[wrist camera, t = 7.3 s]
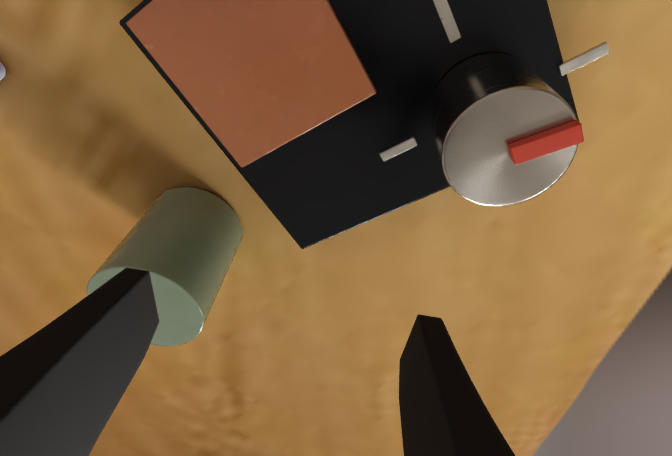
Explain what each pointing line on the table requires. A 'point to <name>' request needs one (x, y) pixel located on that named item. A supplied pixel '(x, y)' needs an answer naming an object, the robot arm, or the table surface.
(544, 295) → the table surface
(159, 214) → the sage green cylinder
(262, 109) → the tile
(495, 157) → the dial
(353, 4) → the warmer
